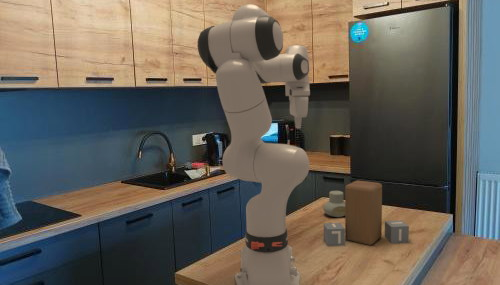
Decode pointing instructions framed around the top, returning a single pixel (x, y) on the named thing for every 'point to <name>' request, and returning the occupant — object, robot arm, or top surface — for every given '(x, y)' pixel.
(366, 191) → the wooden block
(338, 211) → the air freshener
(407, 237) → the cube one
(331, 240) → the cube seven
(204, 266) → the top surface
